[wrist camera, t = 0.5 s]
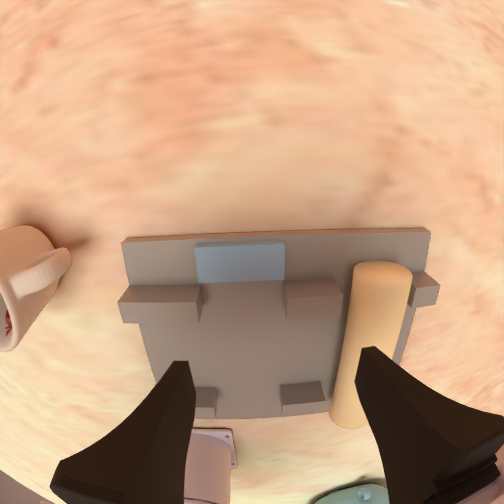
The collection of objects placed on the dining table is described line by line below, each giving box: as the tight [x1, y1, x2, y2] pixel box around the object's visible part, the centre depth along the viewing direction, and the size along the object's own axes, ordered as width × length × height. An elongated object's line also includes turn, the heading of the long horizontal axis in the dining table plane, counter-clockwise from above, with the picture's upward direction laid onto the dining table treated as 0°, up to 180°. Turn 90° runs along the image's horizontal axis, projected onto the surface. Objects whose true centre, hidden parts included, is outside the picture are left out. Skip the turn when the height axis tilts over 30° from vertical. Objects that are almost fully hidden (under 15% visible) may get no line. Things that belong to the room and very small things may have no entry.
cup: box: [0, 225, 72, 352], centre depth 16 cm, size 11×8×8 cm
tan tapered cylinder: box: [329, 260, 413, 429], centre depth 20 cm, size 14×4×4 cm, turn 2°
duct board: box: [118, 228, 440, 419], centre depth 21 cm, size 18×22×3 cm
